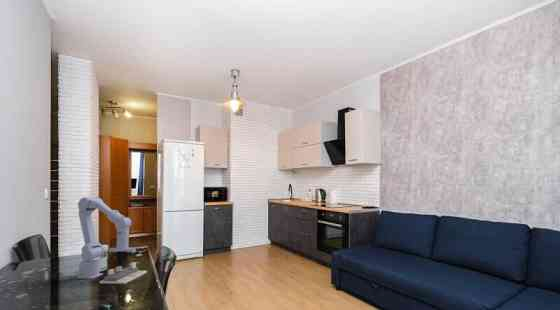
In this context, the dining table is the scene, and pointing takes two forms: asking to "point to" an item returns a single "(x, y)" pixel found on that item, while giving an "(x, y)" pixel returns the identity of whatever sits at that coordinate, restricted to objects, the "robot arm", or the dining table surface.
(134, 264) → the knob far
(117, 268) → the knob middle
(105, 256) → the syrup box
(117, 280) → the switch unit
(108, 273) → the knob near
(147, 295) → the dining table surface
